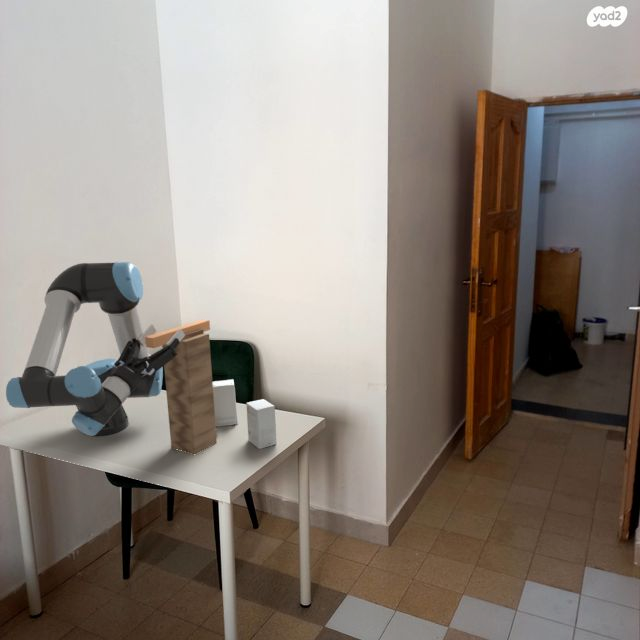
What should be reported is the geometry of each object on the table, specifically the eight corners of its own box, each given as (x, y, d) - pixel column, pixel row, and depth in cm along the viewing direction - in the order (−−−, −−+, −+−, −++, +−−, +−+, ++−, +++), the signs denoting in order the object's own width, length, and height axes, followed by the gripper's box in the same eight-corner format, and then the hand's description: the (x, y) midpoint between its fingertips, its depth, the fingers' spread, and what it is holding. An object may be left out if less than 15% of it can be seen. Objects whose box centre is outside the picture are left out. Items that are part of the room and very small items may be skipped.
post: (171, 448, 188) (161, 334, 180) (193, 436, 197) (184, 327, 188) (195, 454, 183) (185, 337, 175) (216, 442, 192) (208, 330, 183)
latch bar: (146, 347, 171) (145, 336, 170) (202, 328, 191) (202, 319, 190) (153, 348, 169) (152, 338, 168) (210, 329, 189) (209, 320, 188)
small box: (277, 444, 189) (275, 405, 186) (259, 449, 186) (256, 410, 183) (265, 435, 196) (263, 398, 193) (247, 440, 193) (245, 402, 190)
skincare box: (237, 418, 211) (234, 378, 207) (237, 425, 205) (235, 384, 202) (213, 420, 210) (210, 380, 206) (213, 427, 204) (210, 386, 200)
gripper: (98, 387, 170) (145, 334, 183) (157, 400, 158) (203, 343, 172) (84, 369, 165) (134, 316, 179) (144, 381, 154) (192, 324, 167)
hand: (167, 329), depth 175 cm, fingers open, 11 cm apart
